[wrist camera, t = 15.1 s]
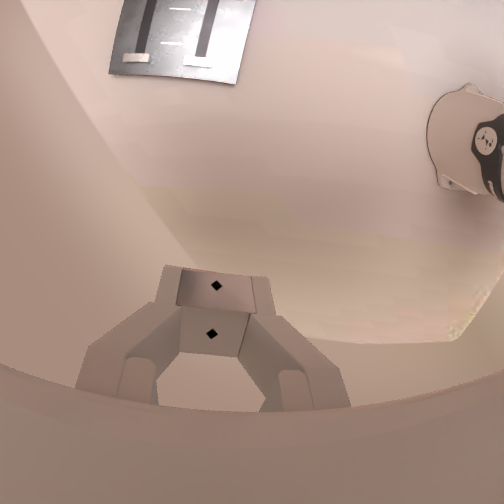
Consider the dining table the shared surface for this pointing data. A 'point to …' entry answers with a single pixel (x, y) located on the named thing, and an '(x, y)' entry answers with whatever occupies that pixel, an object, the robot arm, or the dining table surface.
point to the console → (182, 38)
